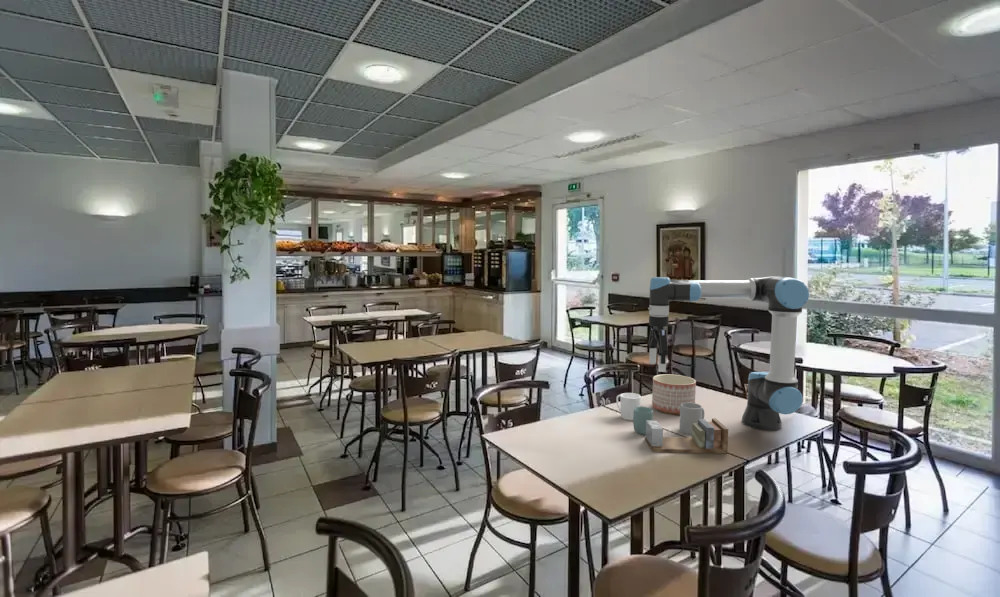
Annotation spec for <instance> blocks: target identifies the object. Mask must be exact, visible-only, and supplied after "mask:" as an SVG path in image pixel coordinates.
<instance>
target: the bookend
mask: <svg viewBox="0 0 1000 597" xmlns="http://www.w3.org/2000/svg"><path fill="white" fill-rule="evenodd" d="M645 437H646V439H647V440H648V442H649V443H650V445H651V446H652V447H663V437H664V428H663V427H662V425H661V424H660V423H659V422H658V421H657V420H653V421H651V420H646V435H645Z"/></svg>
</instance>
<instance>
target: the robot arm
mask: <svg viewBox="0 0 1000 597" xmlns="http://www.w3.org/2000/svg"><path fill="white" fill-rule="evenodd" d="M649 283H650V284H649V307H647V309H648V310H649V311H648V313H649V315H650V316H648V325H649V326H650V332H649V337H648V343H647V345H648V347H649V355H648V357H649V358H648V360H649V365H656V364H657V356H658V364H657V365H658V370H657V372H659V373H661V372H662V373H666V372H667V356H669V348H668V347H669V346H668V338H667V329H664V327H668V326H669V321H670V320H669V318H670V317H669V316H670V302H698V301H699V300H700V299H746V300H748V301H750V302H753V301H754V302H761V303H765V304H767V305H768V308H767V311H768V312H769V313H770V314H771V332H770V333H771V335H770V352H769V370H768V371H751V372H749V374H748V379H747V403H746V406H745V409H744V411H743V414H742V417H741V423H742V424H743V425H745V426H746V427H749V428H752V429H755V430H762V431H778V430H781V429H782V420H781V416H780V414H781V415H790V414H793V413H796V412H797V411H798V410H799V409H801V407H802V404H803V402H804V398H803V394H802V393H801V391H800V390H799V389H798V386H799V385H798V384H799V380H798V378H796V377H795V361H796V360H795V358H796V343H797V342H796V340H797V327H798V326H797V322H798V316H799V315H800V314H802V313H803V307H804V306H805V304H807V303H808V301H809V298H810V291H809V287H808V286H807V285H806V284H805V283H804V282H803V281H802V280H800V279H797V278H794V277H789V276H777V275H776V276H775V275H774V276H773V275H772V276H765V277H750V278H747V279H746V280H708V279H707V280H706V279H704V280H698V279H697V280H677V279H670V277H665V276H662V277H660V276H655V277H654V276H653V277H651V278H650V281H649ZM657 350H658V351H659V352H658V353H657Z"/></svg>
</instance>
